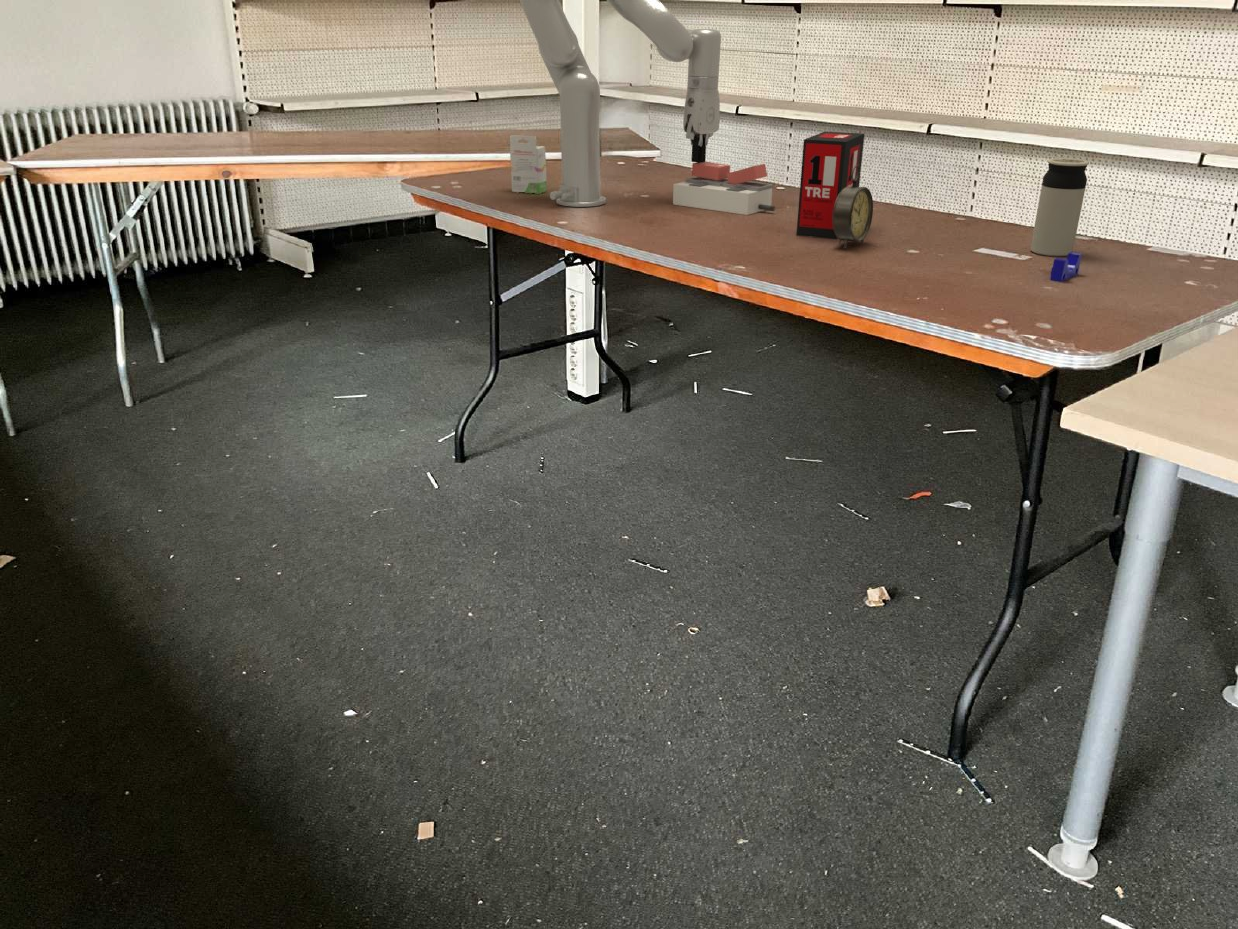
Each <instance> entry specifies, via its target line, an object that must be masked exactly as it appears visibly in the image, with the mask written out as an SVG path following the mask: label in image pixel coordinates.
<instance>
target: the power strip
mask: <svg viewBox="0 0 1238 929" xmlns="http://www.w3.org/2000/svg"><path fill="white" fill-rule="evenodd" d="M773 188H774V184H772V183H763V182H756V181H748V182H744V183H740V184H736V185H733V184H729V181H728V178H726V179H721V180H714V179H708V178H703V177H697V176H692V177H689V178H685V181H681V182H677V183H673V189H672V190H673V191H672V192H673V195H672V199H673V200H672V204H673V205H675V206H681V207H689V208H695V209H703V210H710V211H718V212H722V213H723V212H724V213H730V214H737V215H744V216H745V215H746V216H749V215H753V214H756V213H760V212H764V211H770V212H775V211H776V206H775V205H772V200H773Z"/></svg>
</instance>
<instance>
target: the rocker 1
mask: <svg viewBox="0 0 1238 929" xmlns="http://www.w3.org/2000/svg"><path fill="white" fill-rule="evenodd" d="M691 165H692V166H691V176H692V177H703V178H708V179H714V180H721V179H728V177H727V173H731V165H728V164H723V163H718V162H711V161H706V160H705V162H702V163H697V162H692V164H691Z"/></svg>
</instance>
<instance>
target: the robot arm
mask: <svg viewBox="0 0 1238 929" xmlns="http://www.w3.org/2000/svg"><path fill="white" fill-rule="evenodd" d="M519 2H520V5H521V7H522V10H523V12H524V14H525V16H526V19H527V21H528V24H529V26H530V28H531V31H532V33H533V35H534V38H535V40H536V41H537V44H538V51H539V54H540V56H541V58H542V61H543V62H544V63H543V64H544V65H545V67H546V69H547V71H548V73H549V75H550V78H551V80H552V82H553V84H554V86H555V89H556V91H557V92H558V94H559V101H560V108H559V109H560V110H559V111H560V149H561V150H560V151H561V158H560V159H561V185H559V189H558V190H555V191H551V192H550V193H549V197H550V199H551V201H554V200H555V201H556V203H557V204H558V205H561V206H564V207H572V208H578V207H579V208H580V207H581V208H584V207H586V208H587V207H597V206H602V205H605V204H606V203H607V198H606V197H605V196H602V195H601V183H600V182H601V181H600V180H601V178H600V177H601V174H600V170H601V169H600V164H601V163H600V161H601V160H600V157H601V156H600V155H601V154H600V151H601V150H600V144H601V143H600V111H601V110H600V109H601V108H600V107H601V88H600V85H599V81H598V79H597V77H596V76H595V74H593V73H592V71H591V70H590V67H589V65H588V62H587V61H586V58H585V56H584V54H583V51H582V49H581V48H580V43H579V39H578V37H577V35H576V33H575V31H574V30H573V28H572V26H571V24H570V22H569V21H568V18H567V16H566V14H565V12H564V9H563V6H562V4H561V1H560V0H519ZM606 2H608V3H609V5H610V6H611V7H612V8H614V10H615V11H616V13H618V14H619V15H620V16H621V17H622V18H623V19H625V20H626V21H628V22H629V23H631V24H633V26H635V27H636V28H638V29H639V30H640V31H641V32H642V33H643V34H644V35H645V36H646V37H647V38H648V39H649V40H650V41H651V42H652V43H653V44H654V45H655V46H656V50H657V52H658V54H659V55H660V56H661V58H663V59H664V60H666V61H669V62H674V63H681V62H684V61H686V60H688V63H687V64H688V65H687V66H688V67H687V82H686V83H687V85H686V86H687V87H686V95H685V100H684V108H683V109H684V110H683V121H682V122H683V125H682V126H683V127H682V129H683V131H684V132H685V139H688V140H689V141H690V145H691V159H690V162H692V163H702V162H705V161H706V153H707V146H708V143H709V139H710V138H711V137H712V136H714V133H716V132H718V131H719V128H720V116H721V115H720V112H721V105H720V92H719V75H720V60H721V48H722V47H721V44H722V34H721V32H720V31H719V30H718V29H710V28H695V29H687V28H686V27H685V26H684V24H682V23H681V22H680V21H679V20H678V18H677V17H676V16H675V15H674V14H673V13H672V12H671V11H670V9H668V8H667V7H666V6H665V5H664V4H663V3H662V2H661V1H660V0H606Z"/></svg>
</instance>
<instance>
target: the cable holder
mask: <svg viewBox="0 0 1238 929" xmlns="http://www.w3.org/2000/svg"><path fill="white" fill-rule="evenodd" d="M1082 255H1083V254H1082V253H1081V252H1080V253H1078V252H1074V251H1073V252H1070V253H1068V255H1067V257H1066V258H1059V257H1055V258H1054V259H1053V263H1052V268H1051V272H1050V278H1049V279H1050V281H1052V282H1053V281H1054V282H1057V283H1058V282H1059V283H1062V282H1064V281H1066V280H1069V279H1070V278H1073V277H1075V276H1077V275H1079V271H1080V266H1081V261H1082Z"/></svg>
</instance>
